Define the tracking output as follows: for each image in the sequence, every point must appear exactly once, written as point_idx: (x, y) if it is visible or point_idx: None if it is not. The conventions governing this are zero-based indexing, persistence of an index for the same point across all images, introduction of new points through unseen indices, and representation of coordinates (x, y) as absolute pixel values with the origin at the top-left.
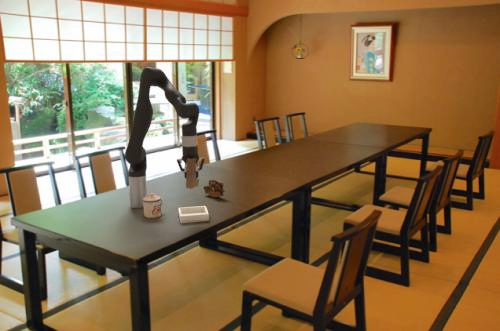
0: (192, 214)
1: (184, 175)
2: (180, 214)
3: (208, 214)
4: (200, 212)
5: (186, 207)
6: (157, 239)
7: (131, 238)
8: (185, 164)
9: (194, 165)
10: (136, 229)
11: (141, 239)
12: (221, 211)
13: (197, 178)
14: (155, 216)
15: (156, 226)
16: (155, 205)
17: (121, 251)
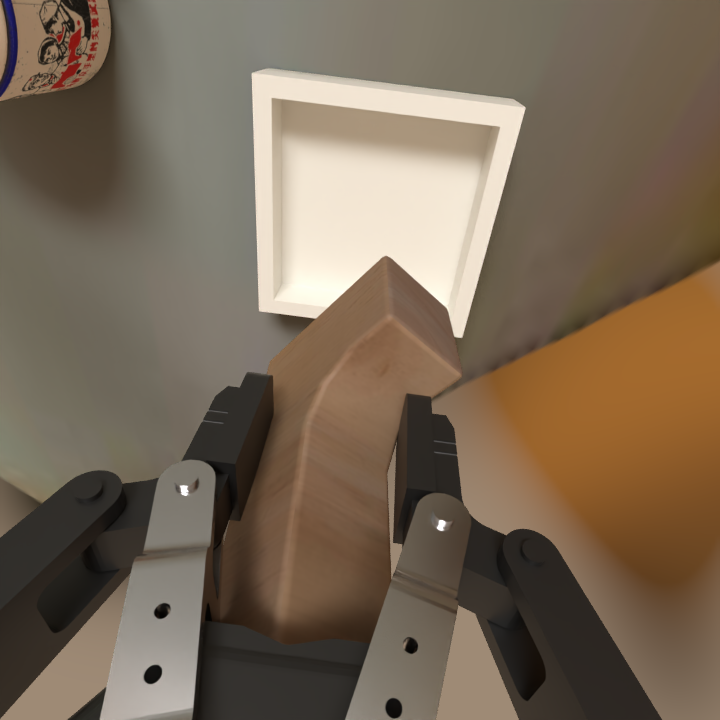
0: (373, 178)
1: (207, 419)
2: (264, 275)
3: (459, 336)
4: (450, 149)
5: (331, 94)
6: (162, 447)
7: (36, 401)
8: (138, 613)
9: None
10: (16, 295)
11: (89, 425)
12: (648, 130)
13: (443, 373)
14: (71, 87)
15: (125, 289)
16: (9, 99)
17: (45, 493)
